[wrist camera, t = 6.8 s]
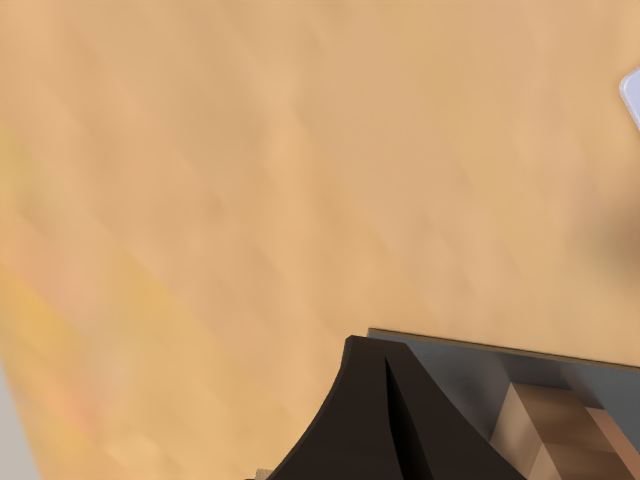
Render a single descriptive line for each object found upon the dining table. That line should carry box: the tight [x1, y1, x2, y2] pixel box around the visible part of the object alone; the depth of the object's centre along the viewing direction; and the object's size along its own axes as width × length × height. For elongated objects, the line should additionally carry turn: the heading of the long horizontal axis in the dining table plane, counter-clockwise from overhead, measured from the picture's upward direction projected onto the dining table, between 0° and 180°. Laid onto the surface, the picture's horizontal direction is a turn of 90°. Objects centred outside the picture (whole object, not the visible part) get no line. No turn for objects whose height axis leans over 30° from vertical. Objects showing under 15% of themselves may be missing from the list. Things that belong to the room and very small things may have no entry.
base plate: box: [367, 328, 640, 455], centre depth 24 cm, size 16×10×1 cm, turn 82°
